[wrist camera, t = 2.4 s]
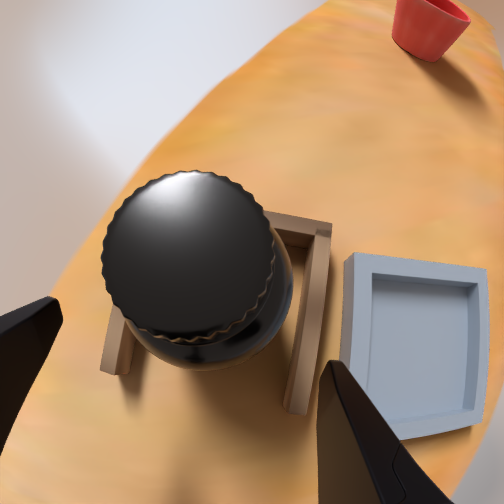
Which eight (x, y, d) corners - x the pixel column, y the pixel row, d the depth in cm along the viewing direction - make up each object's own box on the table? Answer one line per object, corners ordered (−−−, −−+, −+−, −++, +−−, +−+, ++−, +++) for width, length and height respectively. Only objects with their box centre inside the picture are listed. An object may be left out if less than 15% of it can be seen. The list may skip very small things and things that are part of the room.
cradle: (297, 407, 17) (306, 415, 15) (115, 368, 17) (99, 370, 15) (322, 237, 21) (332, 223, 18) (155, 209, 21) (146, 192, 19)
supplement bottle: (202, 239, 20) (163, 112, 9) (292, 289, 20) (358, 203, 8) (147, 325, 18) (33, 286, 7) (239, 382, 18) (235, 434, 6)
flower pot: (454, 61, 31) (478, 19, 22) (431, 76, 29) (460, 23, 19) (401, 24, 33) (418, -20, 24) (369, 32, 31) (386, -21, 22)
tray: (465, 419, 16) (481, 422, 14) (329, 437, 16) (339, 446, 14) (470, 276, 20) (486, 269, 18) (343, 261, 20) (354, 252, 18)
